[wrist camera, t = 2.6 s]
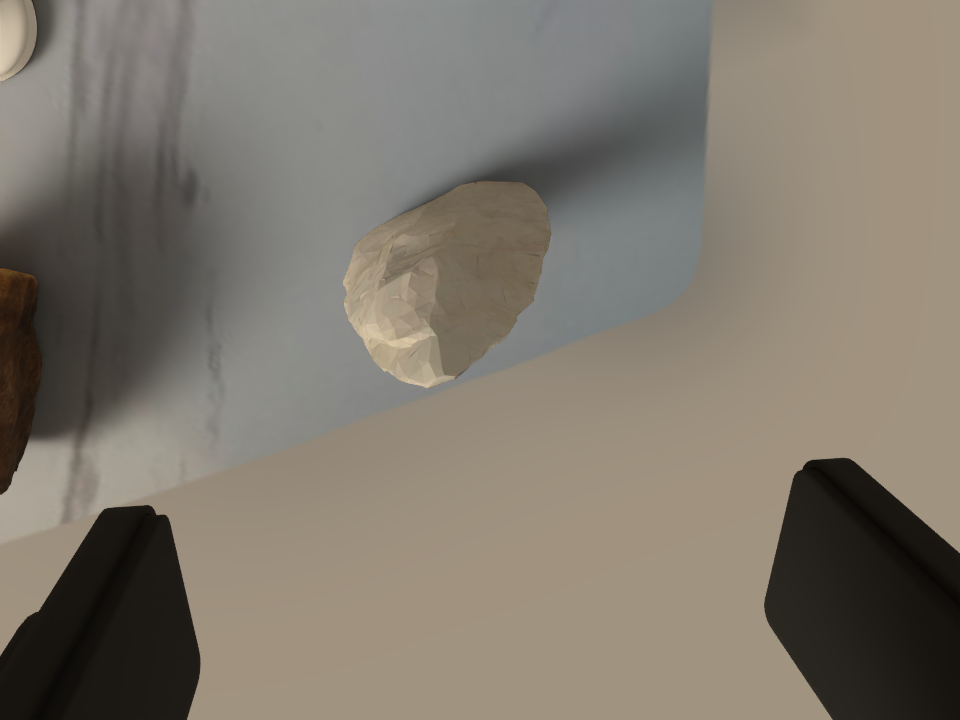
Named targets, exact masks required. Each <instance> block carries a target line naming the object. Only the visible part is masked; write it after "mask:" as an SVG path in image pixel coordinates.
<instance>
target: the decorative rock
mask: <svg viewBox="0 0 960 720" xmlns="http://www.w3.org/2000/svg"><path fill="white" fill-rule="evenodd" d="M38 287H39V286H38V283H37V280H36V278H35V277H34V276H33V275H30V274H26V273H21V272H17V271H13V270H9V269H3V268H0V495H1V494H3V493H4V492H5V491H7V489H8V487H9V485H11V481H12V477H13V474H14V472H15V471H17V468H18V464H19V462H20V461H21V459H22V457H23V455H24V451H25V448H26V445H27V442H28V439H29V436H30V431H31V425H32V420H33V416H34V398H35V396H36V393H37V390H38V387H39V383H40V374H41V366H42V356H41V354H40V353H39V347H38V345H37V342H36V338H35V332H34V330H33V328H32V320H33V316H34V313H35V311H36V307H37V292H38Z"/></svg>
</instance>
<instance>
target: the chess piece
mask: <svg viewBox="0 0 960 720" xmlns="http://www.w3.org/2000/svg"><path fill="white" fill-rule="evenodd" d="M36 37H37V22H36V15H35V10H34V7H33V4H32V1H31V0H0V81H3V80H6V79H8V78H10V77H12V76H13V75H15V74H16V73H18V72H19V71H20V70H21V69H22V68H23V67H24V66H25V65H26V63H27V62H28V60H29V59H30V57H31V55H32V53H33V50H34V47H35V43H36Z"/></svg>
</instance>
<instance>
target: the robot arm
mask: <svg viewBox="0 0 960 720" xmlns="http://www.w3.org/2000/svg"><path fill="white" fill-rule="evenodd" d="M764 608H765V614H766V618H767V621H768V623H769V625H770V627H771V628H772V630H773V631H774V633H775V634H776V636H777V637H778V639H779V640H780V642H781V643H782V645H783V646H784V648H785V649H786V651H787V652H788V654H789V655H790V657H791V658H792V660H793V661H794V662H795V664H796V666H797V667H798V669H799V670H800V672H801V673H802V674H803V676H804V677H805V679H806V681H807V682H808V683H809V685H810V686H811V688H812V689H813V691H814V692H815V694H816V695H817V697H818V698H819V700H820V701H821V703H822V704H823V706H824V707H825V709H826V710H827V712H828V713H829V715H830V716H831V718H832V719H833V720H960V553H959V552H958V551H957V550H955V549H954V548H953V547H952V546H951V545H950V544H948V543H947V542H946V541H945V540H944V539H943V538H941V537H940V536H939V535H938V534H937V533H935V531H933V530H932V529H931V528H930V527H929V526H928V525H927V524H925V523H924V522H923V521H922V520H921V519H919V517H917V516H916V515H915V514H914V513H913V512H912V511H910V510H909V509H908V508H907V507H906V506H905V505H904V504H902V503H901V502H900V501H899V500H898V499H896V498H895V497H894V496H893V495H892V494H891V493H890V492H889V491H887V490H886V489H885V488H884V487H883V486H882V485H881V484H879V483H878V482H877V481H876V480H875V479H874V478H872V477H871V476H870V475H869V474H868V473H866V471H864V470H863V469H862V468H861V467H860V466H859V465H857V464H856V463H855V462H854V461H852V460H851V459H848V458H834V459H820V460H811V461H808V462H807V463H806V464H805V465H804V466H803V469H802V470H800V471H798V472H797V473H796V474H795V475H794V478H793V482H792V486H791V490H790V494H789V499H788V503H787V507H786V512H785V516H784V520H783V524H782V529H781V533H780V537H779V542H778V546H777V550H776V555H775V558H774V563H773V567H772V572H771V576H770V580H769V584H768V588H767V593H766V597H765V603H764ZM199 675H200V653H199V648H198V644H197V639H196V635H195V631H194V626H193V622H192V618H191V613H190V609H189V605H188V600H187V595H186V591H185V587H184V583H183V578H182V574H181V570H180V565H179V560H178V556H177V551H176V547H175V543H174V538H173V534H172V530H171V525H170V522H169V519H168V517H167V516H166V515H156V513H155V510H154V509H153V507H151V506H149V505H144V506H129V507H115V508H107V509H104V510H103V511H102V512H101V513H100V515H99V516H98V518H97V520H96V521H95V523H94V524H93V526H92V528H91V529H90V531H89V532H88V534H87V536H86V537H85V539H84V540H83V542H82V543H81V545H80V547H79V548H78V550H77V551H76V553H75V555H74V556H73V558H72V559H71V561H70V563H69V564H68V566H67V567H66V569H65V571H64V572H63V574H62V575H61V577H60V579H59V580H58V582H57V583H56V585H55V586H54V588H53V590H52V591H51V593H50V594H49V596H48V597H47V599H46V601H45V602H44V604H43V605H42V607H41V609H40V610H39V612H35V613H34V614H32V615H30V616H29V617H27V619H26V620H25V621H24V622H23V623H22V624H21V626H20V627H19V628H18V630H17V631H16V633H15V634H14V636H13V637H12V639H11V640H10V642H9V643H8V645H7V647H6V648H5V650H4V651H3V653H2V654H1V656H0V720H187V717H188V714H189V711H190V707H191V704H192V701H193V697H194V694H195V691H196V688H197V684H198V680H199Z"/></svg>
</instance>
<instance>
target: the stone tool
mask: <svg viewBox="0 0 960 720" xmlns="http://www.w3.org/2000/svg"><path fill="white" fill-rule="evenodd" d="M547 213H548V210H547V208H546V205H544V202H543V201H542V200H541V198H540V197H539V195H538V194H537V193H536V191H535V190H534V189H532V188H530V187H529V186H527V185H526V184H524V183H523V182H495V181H477V182H473V183H468V184H463V185H460V186H458V187H456V188H455V189H453V190H452V191H450V192H448V193H446V194H444V195H442V196H440V197H438V198H436V199H434V200H433V201H431V202H428V203H426V204H424V205H422V206H420V207H417V208H415V209H413V210H410V211H407V212H405V213H403V214H401V215H400V216H398V217H395V218H393V219H391V220H390V221H388V222H386V223H384V224H382V225H380V226H378V227H377V228H375V229H373V230H372V231H371V232H370V233H368V234H367V235H366V236H365V237H363V238H362V239H361V240H360V241H359V242H358V243H357V244H356V245H355V247H354V252H353V257H352V260H351V262H350V265H349V267H348V270H347V274H346V276H345V278H344V280H343V284H344V286H345V288H346V291H347V296H346V298H345V300H344V305H345V309H346V312H347V314H348V319H349V321H350V322H351V323H352V325H353V327H354V329H355V330H356V331H357V332H358V334H359V335H360V336H361V337H362V338H364V339H363V340H364V344H365V346H366V347H367V349H368V351H369V352H370V354H371V356H372V359H373V360H374V361H375V362H376V363H377V364H378V365H379V366H380V367H381V368H382V369H383V370H384V371H385V372H386V371H389V372H390V373H391V374H392V375H394V376H396V377H397V378H398V379H399V380H400V381H404V382H406V383H410V384H416V385H421V386H423V387H426V388H430V387H433V386H435V385H438V384H441V383H444V382H446V381H449V380H454V379H455V378H457V377H458V376H459V375H460V374H462V373H463V372H464V371H465V370H466V369H467V368H468V367H469V366H470V365H471V364H473V363H474V362H476V361H477V360H478V359H480V358H481V357H482V356H483V355H484V354H485V353H486V351H487V350H489V349H491V348H493V347H494V346H496V345H497V344H499V343H500V342H501V341H502V340H503V339H504V338H505V337H506V336H507V335H508V333H509V332H510V330H511V329H512V328H513V326H514V324H515V323H516V321H517V315H518V314H519V313H521V312H522V311H523V310H524V309H525V308H526V307H527V306H528V305H530V304H531V303H532V302H533V301H534V294H535V291H536V287H537V284H538V281H539V277H540V274H541V270H542V262H543V258H544V256H545V254H546V252H547V250H548V246H549V241H550V236H551V230H550V224H549V223H548V221H549V220H548V218H547Z"/></svg>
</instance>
